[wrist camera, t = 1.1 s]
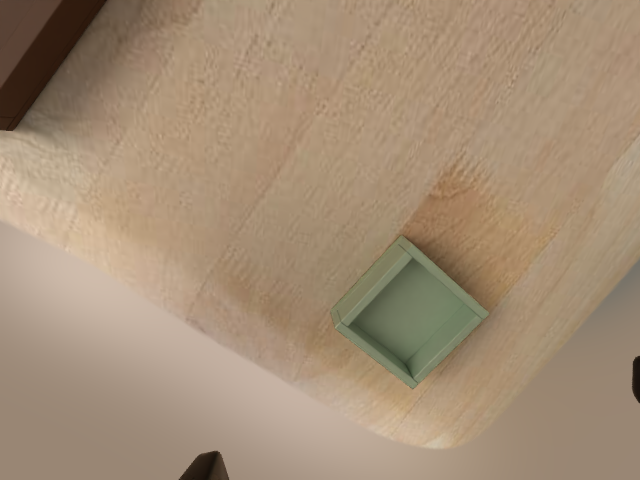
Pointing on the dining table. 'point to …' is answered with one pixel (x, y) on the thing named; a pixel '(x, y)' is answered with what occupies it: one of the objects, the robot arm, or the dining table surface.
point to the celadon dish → (407, 313)
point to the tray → (35, 48)
